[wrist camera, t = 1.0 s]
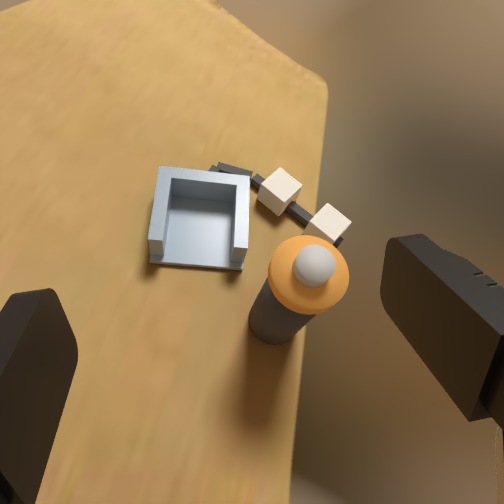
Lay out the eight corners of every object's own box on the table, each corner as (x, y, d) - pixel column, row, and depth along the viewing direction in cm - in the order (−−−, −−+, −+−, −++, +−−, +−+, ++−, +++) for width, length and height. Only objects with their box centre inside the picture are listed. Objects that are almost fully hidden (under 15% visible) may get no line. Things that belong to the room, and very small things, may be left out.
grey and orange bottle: (233, 320, 33) (258, 262, 22) (269, 282, 35) (309, 211, 24) (276, 360, 32) (325, 320, 21) (311, 318, 34) (371, 262, 23)
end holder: (242, 270, 35) (247, 254, 32) (149, 263, 34) (146, 245, 31) (244, 196, 39) (249, 176, 35) (161, 188, 37) (159, 165, 34)
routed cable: (193, 184, 38) (193, 168, 36) (237, 150, 41) (240, 133, 39) (307, 281, 35) (315, 270, 33) (345, 237, 38) (355, 225, 36)
